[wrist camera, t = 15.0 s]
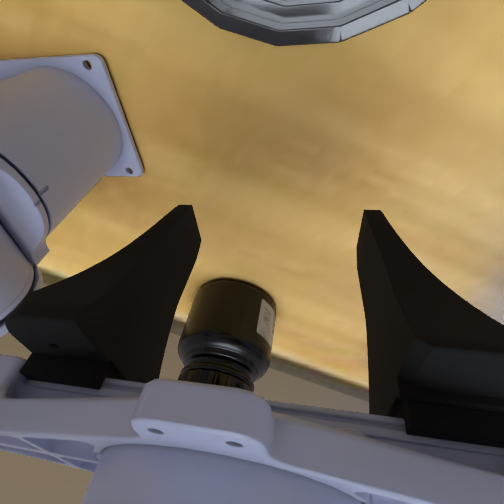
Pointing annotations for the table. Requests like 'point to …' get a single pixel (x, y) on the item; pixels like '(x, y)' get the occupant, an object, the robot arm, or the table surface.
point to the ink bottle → (227, 335)
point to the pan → (301, 18)
